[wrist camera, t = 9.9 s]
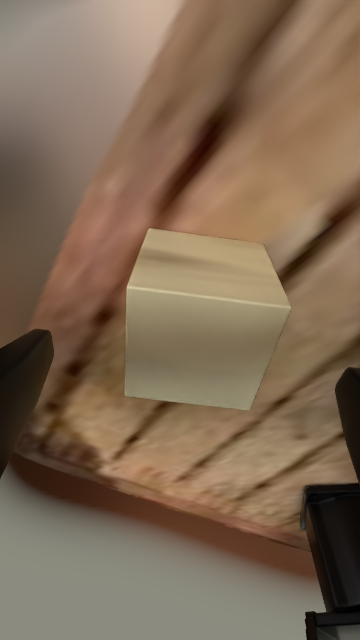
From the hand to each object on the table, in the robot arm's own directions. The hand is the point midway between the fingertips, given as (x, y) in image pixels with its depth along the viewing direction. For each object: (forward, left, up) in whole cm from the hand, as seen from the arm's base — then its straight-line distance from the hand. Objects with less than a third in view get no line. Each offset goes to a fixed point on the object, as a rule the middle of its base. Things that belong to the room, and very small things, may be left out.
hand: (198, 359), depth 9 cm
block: (0, 0, -4) cm, 4 cm away
